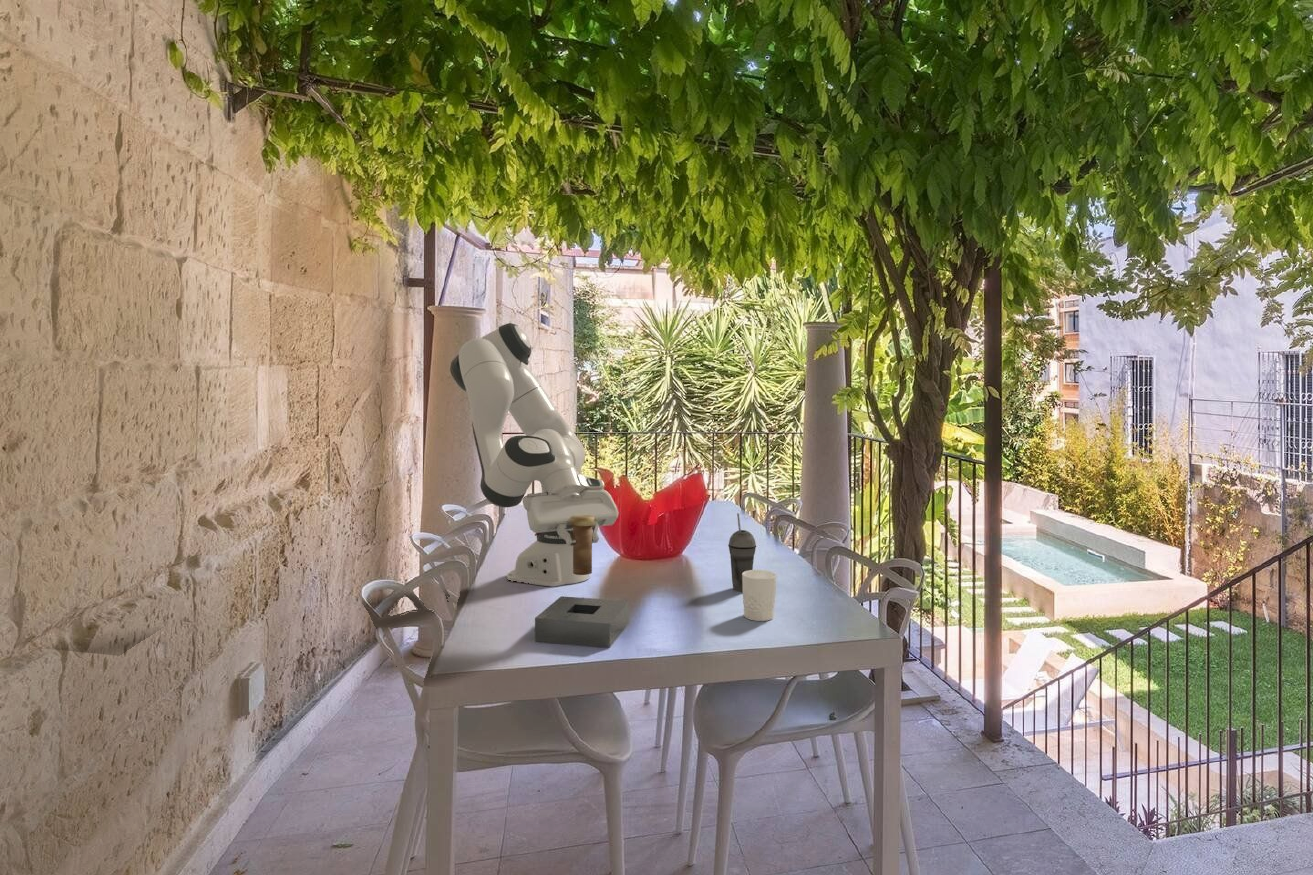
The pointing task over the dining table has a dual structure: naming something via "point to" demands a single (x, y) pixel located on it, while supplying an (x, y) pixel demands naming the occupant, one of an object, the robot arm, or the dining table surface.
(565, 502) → the robot arm
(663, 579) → the dining table surface
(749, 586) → the white cup
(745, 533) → the beverage cup
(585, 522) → the brass pin
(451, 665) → the dining table surface
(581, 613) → the hitch block
